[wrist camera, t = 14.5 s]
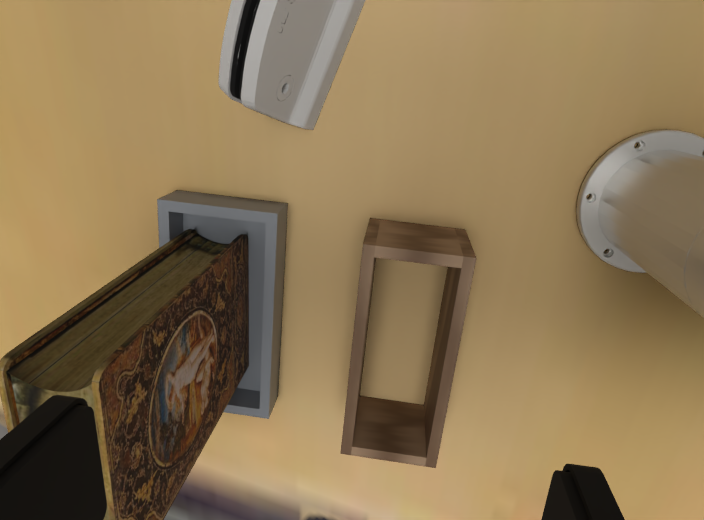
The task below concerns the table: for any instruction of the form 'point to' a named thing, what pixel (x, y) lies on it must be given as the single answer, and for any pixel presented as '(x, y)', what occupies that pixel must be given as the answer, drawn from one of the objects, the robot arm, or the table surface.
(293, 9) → the white gray electronic device
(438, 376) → the frame
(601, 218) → the robot arm
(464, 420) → the table surface
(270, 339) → the tray
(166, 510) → the book
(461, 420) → the table surface
